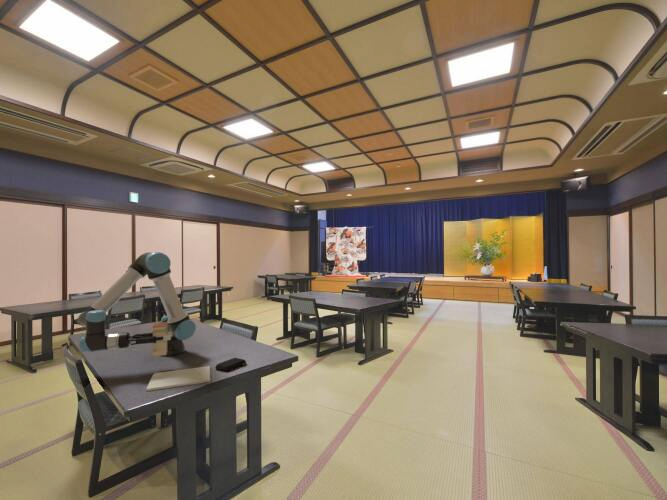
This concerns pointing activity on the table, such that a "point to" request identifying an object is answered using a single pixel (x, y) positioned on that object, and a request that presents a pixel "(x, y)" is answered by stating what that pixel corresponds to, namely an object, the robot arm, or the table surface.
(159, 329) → the birch block
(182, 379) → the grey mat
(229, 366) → the carrying case or bag
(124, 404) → the table surface
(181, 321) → the robot arm
